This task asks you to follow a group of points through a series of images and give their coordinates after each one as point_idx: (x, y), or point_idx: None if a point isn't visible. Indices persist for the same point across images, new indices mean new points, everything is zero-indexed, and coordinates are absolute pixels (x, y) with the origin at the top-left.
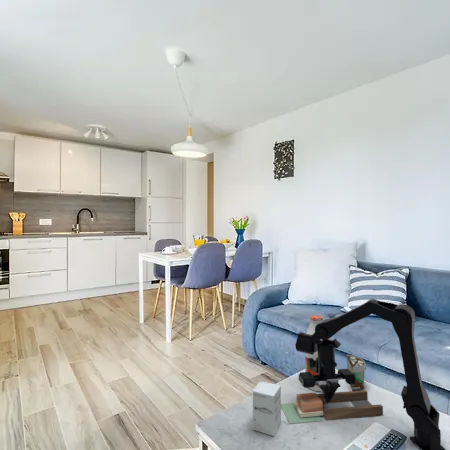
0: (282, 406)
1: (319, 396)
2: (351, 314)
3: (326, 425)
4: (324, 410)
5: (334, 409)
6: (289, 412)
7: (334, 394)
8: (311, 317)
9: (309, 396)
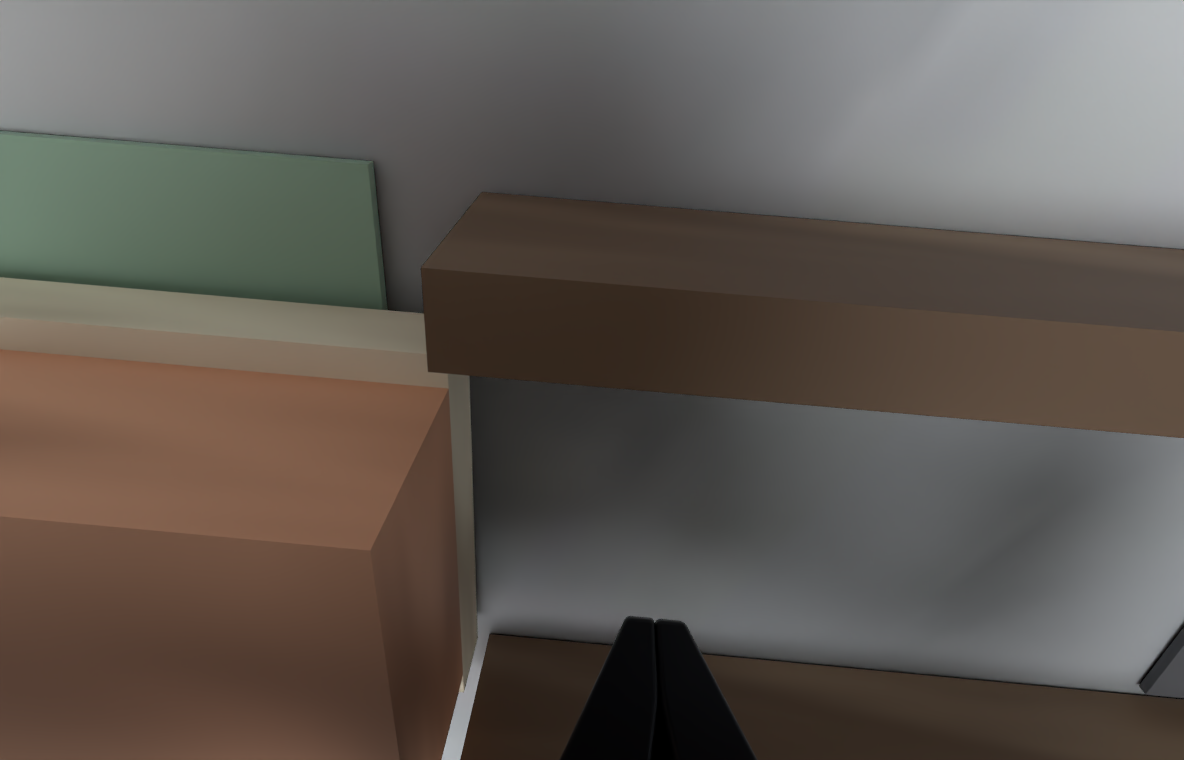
0: None
1: (583, 372)
2: None
3: (451, 732)
4: (461, 757)
5: None
6: None
7: (1107, 427)
8: None
9: (116, 662)
